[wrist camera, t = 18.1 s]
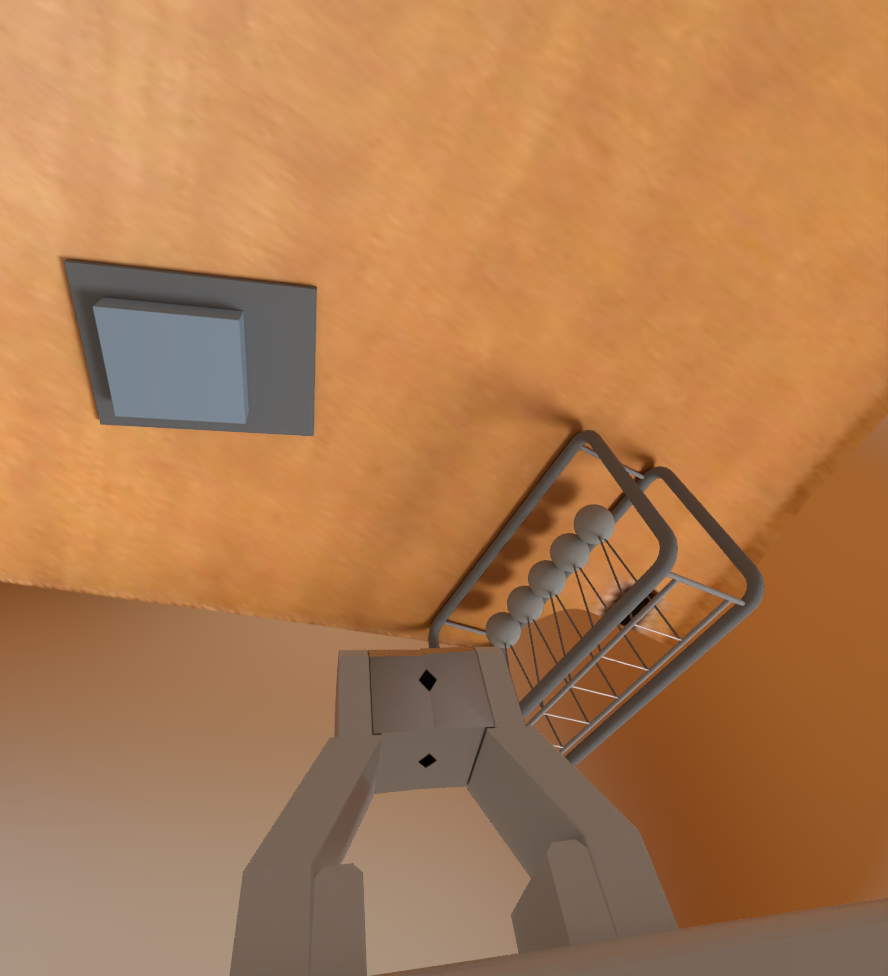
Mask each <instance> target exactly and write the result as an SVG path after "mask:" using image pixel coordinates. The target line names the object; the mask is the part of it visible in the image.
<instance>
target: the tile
mask: <svg viewBox="0 0 888 976" xmlns="http://www.w3.org/2000/svg"><path fill="white" fill-rule="evenodd" d="M93 310H94V315H95V320H96V325H97V329H98V334H99V339H100V344H101V349H102V354H103V359H104V363H105V368H106V373H107V378H108V383H109V388H110V393H111V397H112V402H113V407H114V412H115V416H120V417H137V418H154V419H171V420H189V421H206V422H223V423H240V424H245V423H246V420H247V416H248V413H249V406H248V387H247V369H246V350H245V331H244V313H243V311H236V310H226V309H216V308H206V307H196V306H186V305H176V304H166V303H156V302H146V301H136V300H126V299H115V298H105V297H103V298H102V299H101V300H100V301H99V302H97V303H96V304H95V305H94V306H93Z"/></svg>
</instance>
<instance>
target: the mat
mask: <svg viewBox="0 0 888 976" xmlns="http://www.w3.org/2000/svg"><path fill="white" fill-rule="evenodd" d="M64 264H65V269H66V273H67V277H68V282H69V286H70V291H71V295H72V300H73V304H74V309H75V313H76V317H77V322H78V326H79V331H80V335H81V340H82V344H83V349H84V353H85V358H86V362H87V366H88V371H89V375H90V380H91V384H92V389H93V393H94V398H95V402H96V406H97V411H98V415H99V420H100V424H104V425H122V426H140V427H158V428H176V429H194V430H212V431H230V432H248V433H266V434H284V435H302V436H313V434H314V389H315V341H316V292H317V287H312V286H303V285H294V284H285V283H276V282H267V281H258V280H249V279H240V278H231V277H222V276H213V275H204V274H195V273H186V272H177V271H168V270H159V269H150V268H141V267H132V266H123V265H114V264H105V263H96V262H87V261H78V260H69V259H67V260H66V261H64ZM103 297H105V298H115V299H126V300H136V301H146V302H156V303H166V304H176V305H186V306H196V307H206V308H216V309H226V310H236V311H243V313H244V331H245V350H246V369H247V387H248V406H249V413H248V416H247V420H246V423H245V424H240V423H223V422H206V421H189V420H171V419H154V418H137V417H120V416H115V412H114V407H113V402H112V397H111V393H110V388H109V383H108V378H107V373H106V368H105V363H104V359H103V354H102V349H101V344H100V339H99V334H98V329H97V325H96V320H95V315H94V310H93V306H94V305H95V304H96V303H97V302H99V301H100V300H101V299H102V298H103Z"/></svg>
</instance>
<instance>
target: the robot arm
mask: <svg viewBox="0 0 888 976" xmlns="http://www.w3.org/2000/svg"><path fill="white" fill-rule="evenodd" d="M464 786H468V787H467V790H468V791H469V792H470V794H471V795H472V796H473V798H474V799H475V801H476V802H477V803H478V805H479V806H480V808H481V809H482V810H483V812H484V813H485V815H486V816H487V817H488V819H489V820H490V822H491V823H492V824H493V826H494V827H495V828H496V830H497V831H498V833H499V834H500V835H501V837H502V838H503V840H504V841H505V842H506V844H507V845H508V847H509V848H510V849H511V851H512V852H513V853H514V855H515V856H516V858H517V859H518V861H519V862H520V863H521V865H522V866H523V868H524V869H525V870H526V872H527V873H528V875H529V876H530V877H531V880H530V882H529V884H528V885H527V887H526V889H525V891H524V892H523V894H522V896H521V898H520V899H519V902H518V903H517V905H516V907H515V908H514V910H513V912H512V914H511V917H512V922H513V927H514V932H515V937H516V942H517V947H518V952H519V953H518V954H512V955H506V956H498V957H492V958H485V959H479V960H472V961H465V962H459V963H452V964H445V965H439V966H432V967H426V968H420V969H412V970H406V971H399V972H392V973H386V974H379V975H373V976H888V898H884V899H876V900H869V901H863V902H856V903H850V904H843V905H837V906H830V907H823V908H817V909H810V910H803V911H797V912H790V913H784V914H777V915H770V916H763V917H757V918H751V919H744V920H737V921H730V922H724V923H717V924H711V925H704V926H697V927H691V928H685V929H679V928H678V926H677V923H676V921H675V918H674V916H673V914H672V911H671V908H670V906H669V904H668V901H667V899H666V896H665V894H664V891H663V889H662V887H661V884H660V882H659V879H658V876H657V874H656V872H655V869H654V867H653V864H652V862H651V859H650V857H649V854H648V852H647V849H646V847H645V844H644V842H643V840H642V837H641V835H640V832H639V831H638V829H637V828H636V827H634V825H632V823H630V822H629V821H628V819H626V818H625V817H624V816H623V815H622V814H621V813H620V812H619V811H618V810H617V809H616V808H615V807H614V806H613V805H612V804H611V803H610V802H609V801H608V800H607V799H606V798H605V797H604V796H603V795H602V794H601V793H600V792H599V791H598V790H597V789H596V788H595V787H594V786H593V785H592V784H591V783H590V782H589V781H588V780H587V779H586V778H585V777H584V776H583V775H582V774H581V773H580V772H579V771H578V770H577V769H576V768H575V767H574V766H573V765H572V764H571V763H570V762H569V761H568V760H567V759H566V758H565V757H564V756H563V755H562V754H561V753H560V752H559V751H558V750H557V749H556V748H555V747H554V746H553V745H552V744H551V743H550V742H549V741H548V740H547V739H546V738H545V737H544V736H543V735H542V734H541V733H540V732H539V731H538V730H537V729H536V728H535V727H534V726H525V723H524V719H523V716H522V713H521V709H520V706H519V703H518V699H517V696H516V693H515V689H514V686H513V683H512V679H511V676H510V673H509V669H508V666H507V663H506V659H505V656H504V653H503V651H502V649H501V648H500V647H498V646H493V647H473V648H472V647H450V648H426V649H420V650H368V651H367V650H340V651H339V654H338V668H337V683H336V702H335V737H332V738H329V740H328V741H327V743H326V744H325V746H324V747H323V749H322V751H321V752H320V754H319V755H318V757H317V758H316V760H315V761H314V763H313V765H312V766H311V768H310V769H309V771H308V772H307V774H306V775H305V777H304V779H303V780H302V782H301V783H300V785H299V786H298V788H297V789H296V791H295V792H294V794H293V795H292V797H291V799H290V800H289V802H288V803H287V805H286V806H285V808H284V809H283V811H282V812H281V814H280V816H279V817H278V819H277V820H276V822H275V823H274V825H273V826H272V828H271V830H270V831H269V833H268V834H267V836H266V837H265V839H264V840H263V842H262V843H261V845H260V846H259V848H258V850H257V851H256V853H255V854H254V856H253V857H252V859H251V860H250V862H249V863H248V865H247V867H246V868H245V870H244V871H243V877H242V885H241V892H240V900H239V908H238V915H237V923H236V931H235V938H234V946H233V953H232V961H231V968H230V976H367V968H366V967H367V966H366V943H365V915H364V887H363V872H362V871H361V870H360V869H358V868H357V867H356V866H355V865H354V864H353V863H351V864H342V865H341V863H342V862H343V860H344V858H345V855H346V853H347V851H348V849H349V847H350V845H351V843H352V841H353V839H354V836H355V834H356V832H357V830H358V828H359V826H360V824H361V822H362V820H363V818H364V816H365V813H366V812H367V810H368V807H369V805H370V803H371V801H372V799H373V795H374V794H377V793H387V792H395V791H404V790H414V789H426V788H443V787H444V788H445V787H464Z"/></svg>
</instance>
